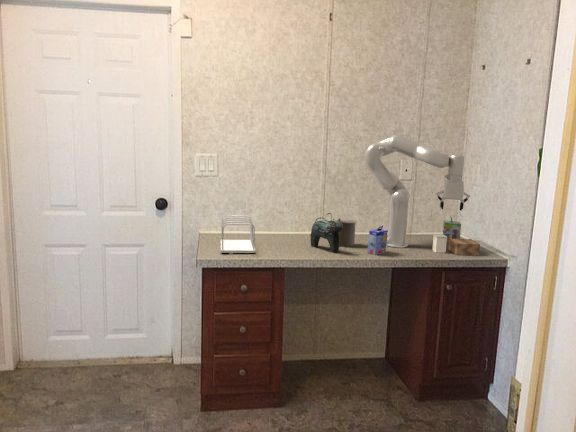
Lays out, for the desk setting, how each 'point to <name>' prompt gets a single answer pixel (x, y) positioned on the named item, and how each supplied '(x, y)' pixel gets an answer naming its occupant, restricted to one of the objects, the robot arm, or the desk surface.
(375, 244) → the ink cartridge box
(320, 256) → the desk surface
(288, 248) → the desk surface
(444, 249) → the white rectangular block
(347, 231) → the pillar candle
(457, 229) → the chalk box
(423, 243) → the desk surface
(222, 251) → the file sorter
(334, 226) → the animal figurine
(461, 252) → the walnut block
